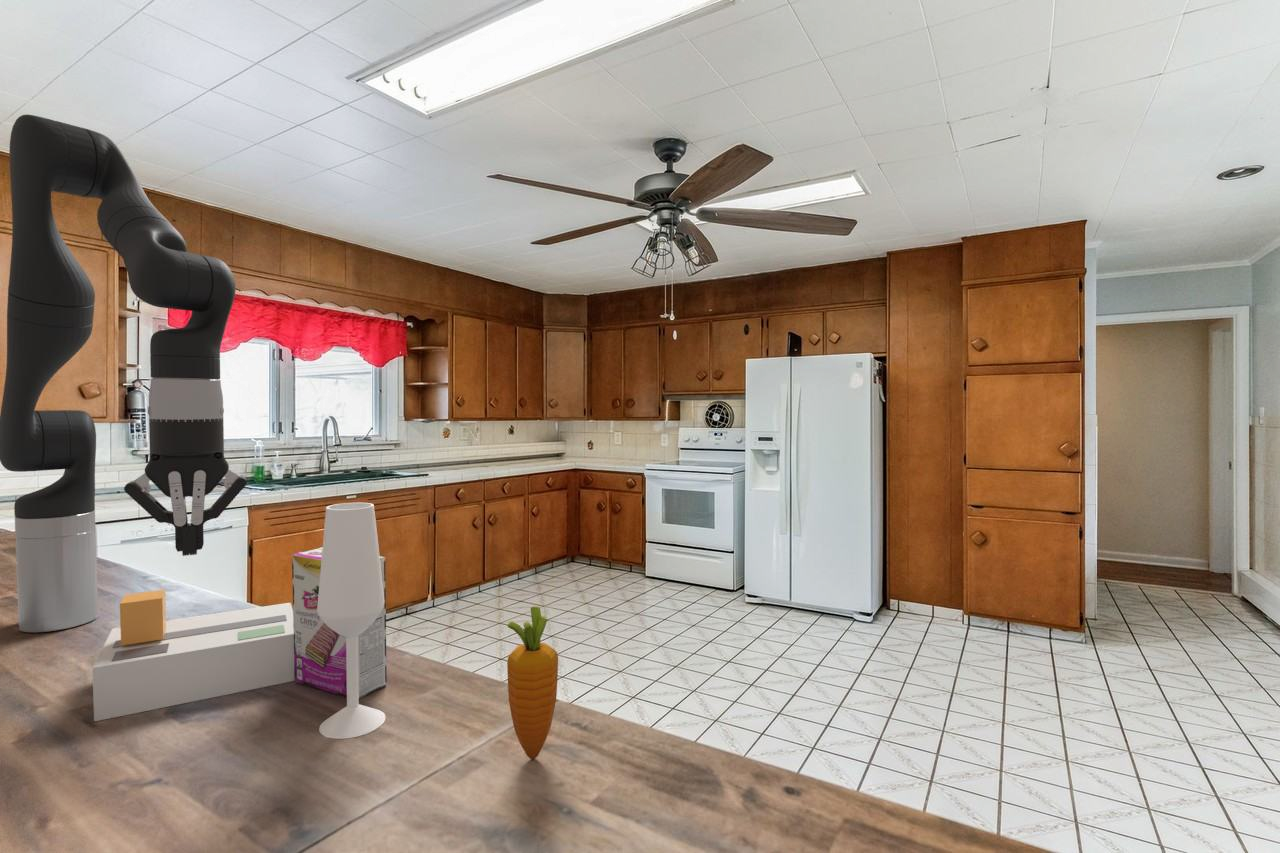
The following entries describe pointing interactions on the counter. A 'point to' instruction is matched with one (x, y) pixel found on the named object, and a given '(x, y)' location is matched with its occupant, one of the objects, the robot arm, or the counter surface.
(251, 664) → the switch box
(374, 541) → the champagne flute
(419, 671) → the counter surface
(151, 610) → the block
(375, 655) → the candy bar box
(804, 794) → the counter surface
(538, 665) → the carrot
